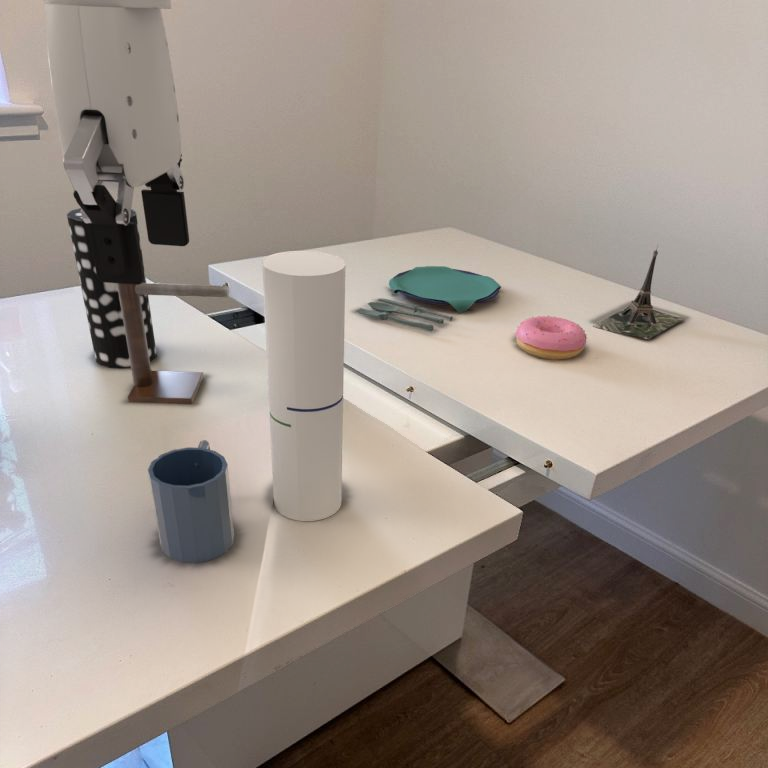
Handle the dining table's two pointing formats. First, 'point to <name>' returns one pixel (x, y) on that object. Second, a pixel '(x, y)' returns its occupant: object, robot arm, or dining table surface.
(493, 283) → the cutlery set
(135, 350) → the mug stand
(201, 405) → the dining table surface
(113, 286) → the white-spotted black cylinder
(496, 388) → the dining table surface
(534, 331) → the doughnut
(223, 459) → the mug
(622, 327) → the eiffel tower figurine
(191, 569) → the dining table surface
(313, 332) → the cylindrical container
